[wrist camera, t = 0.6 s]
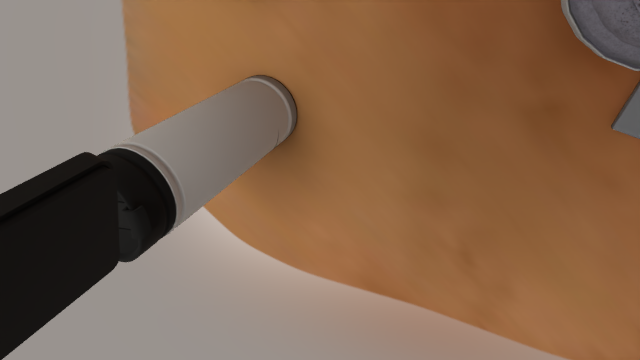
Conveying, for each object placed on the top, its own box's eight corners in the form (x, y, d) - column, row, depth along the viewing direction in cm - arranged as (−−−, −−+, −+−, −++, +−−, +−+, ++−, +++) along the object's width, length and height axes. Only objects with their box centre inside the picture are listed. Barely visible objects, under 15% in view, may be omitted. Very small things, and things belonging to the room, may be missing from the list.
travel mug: (306, 142, 43) (157, 275, 27) (244, 142, 46) (73, 263, 29) (294, 72, 40) (121, 171, 24) (228, 76, 43) (33, 168, 27)
